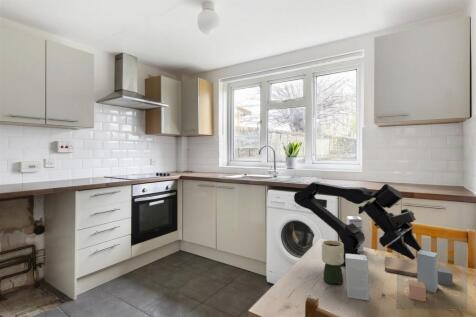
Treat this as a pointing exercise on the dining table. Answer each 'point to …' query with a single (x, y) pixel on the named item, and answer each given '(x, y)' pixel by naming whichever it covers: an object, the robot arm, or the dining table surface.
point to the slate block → (427, 269)
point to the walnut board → (401, 266)
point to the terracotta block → (416, 290)
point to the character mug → (333, 260)
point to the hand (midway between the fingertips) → (417, 254)
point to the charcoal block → (445, 276)
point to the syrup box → (358, 223)
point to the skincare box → (357, 276)
